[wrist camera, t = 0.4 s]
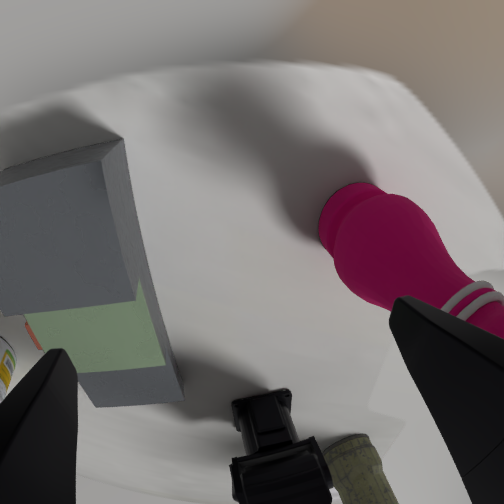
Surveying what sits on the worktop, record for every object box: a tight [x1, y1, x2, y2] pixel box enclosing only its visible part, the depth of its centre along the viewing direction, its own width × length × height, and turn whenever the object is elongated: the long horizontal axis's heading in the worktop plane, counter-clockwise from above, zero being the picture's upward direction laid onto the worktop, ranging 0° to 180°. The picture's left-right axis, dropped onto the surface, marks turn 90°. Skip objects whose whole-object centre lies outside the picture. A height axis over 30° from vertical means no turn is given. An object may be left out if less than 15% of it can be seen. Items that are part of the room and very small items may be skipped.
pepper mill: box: [318, 183, 504, 339], centre depth 15 cm, size 7×7×20 cm
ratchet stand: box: [0, 139, 185, 408], centre depth 20 cm, size 22×10×6 cm, turn 3°
